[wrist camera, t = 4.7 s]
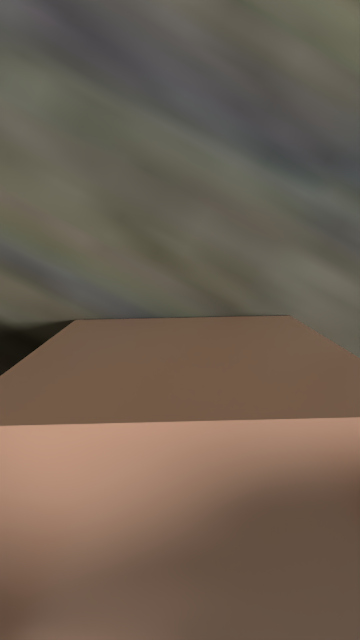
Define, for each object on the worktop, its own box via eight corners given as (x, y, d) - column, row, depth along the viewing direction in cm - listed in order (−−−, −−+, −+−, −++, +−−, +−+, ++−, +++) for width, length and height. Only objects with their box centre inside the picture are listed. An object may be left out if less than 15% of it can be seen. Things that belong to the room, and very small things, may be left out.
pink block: (93, 498, 11) (10, 757, 5) (75, 320, 9) (-69, 427, 4) (277, 493, 11) (379, 743, 5) (289, 315, 9) (452, 415, 4)
